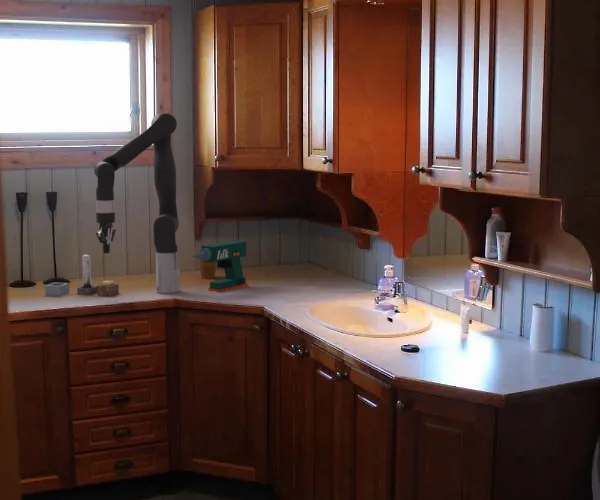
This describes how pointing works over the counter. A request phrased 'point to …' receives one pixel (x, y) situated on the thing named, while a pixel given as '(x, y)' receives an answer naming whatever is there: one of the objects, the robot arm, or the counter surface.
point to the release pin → (107, 283)
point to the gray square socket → (57, 289)
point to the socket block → (99, 291)
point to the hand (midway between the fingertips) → (106, 253)
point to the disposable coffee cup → (207, 269)
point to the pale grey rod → (86, 271)
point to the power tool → (225, 263)
